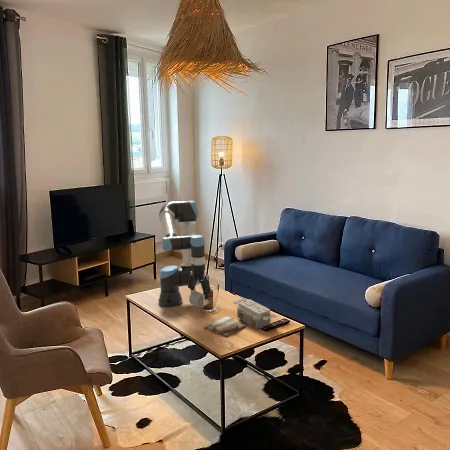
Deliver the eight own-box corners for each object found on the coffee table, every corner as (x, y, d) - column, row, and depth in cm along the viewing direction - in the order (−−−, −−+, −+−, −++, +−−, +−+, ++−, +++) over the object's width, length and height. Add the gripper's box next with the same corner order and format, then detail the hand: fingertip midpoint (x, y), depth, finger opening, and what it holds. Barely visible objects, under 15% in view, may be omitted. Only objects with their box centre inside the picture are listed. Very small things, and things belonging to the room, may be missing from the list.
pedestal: (204, 329, 248) (204, 322, 247) (223, 319, 260) (223, 313, 259) (226, 337, 238) (226, 330, 237) (245, 327, 249) (245, 320, 249)
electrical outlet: (245, 310, 270) (245, 295, 268) (278, 329, 249) (279, 312, 246) (229, 316, 263) (230, 300, 261) (262, 335, 242) (263, 318, 239)
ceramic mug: (199, 309, 245) (198, 296, 244) (189, 306, 251) (188, 292, 249) (213, 304, 252) (212, 291, 251) (203, 300, 258) (202, 288, 257)
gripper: (180, 261, 250) (181, 300, 255) (207, 268, 236) (208, 309, 241) (189, 258, 255) (191, 296, 260) (216, 265, 241) (218, 305, 246)
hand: (199, 302), depth 251 cm, fingers closed on ceramic mug, 8 cm apart
